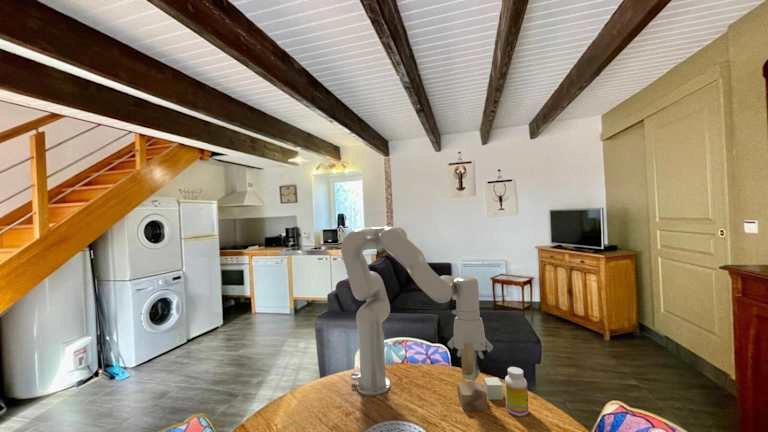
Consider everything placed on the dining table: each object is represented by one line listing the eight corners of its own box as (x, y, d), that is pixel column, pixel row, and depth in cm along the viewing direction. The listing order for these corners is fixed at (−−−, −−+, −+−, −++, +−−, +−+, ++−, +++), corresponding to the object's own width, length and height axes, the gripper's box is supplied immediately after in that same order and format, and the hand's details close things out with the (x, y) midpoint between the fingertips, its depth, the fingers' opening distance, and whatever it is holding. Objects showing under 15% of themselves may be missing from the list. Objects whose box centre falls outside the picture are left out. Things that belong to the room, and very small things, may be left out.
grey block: (488, 399, 105) (487, 385, 105) (484, 391, 110) (483, 377, 110) (503, 399, 105) (502, 384, 105) (498, 391, 110) (497, 377, 110)
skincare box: (468, 370, 108) (466, 335, 108) (480, 373, 106) (478, 337, 106) (461, 378, 103) (459, 341, 103) (474, 382, 100) (472, 344, 101)
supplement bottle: (531, 417, 95) (529, 376, 95) (508, 416, 96) (506, 374, 96) (525, 404, 101) (523, 365, 102) (504, 403, 103) (502, 364, 103)
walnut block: (462, 410, 100) (462, 395, 100) (457, 396, 108) (457, 381, 108) (487, 410, 100) (486, 394, 100) (480, 395, 108) (480, 381, 108)
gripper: (441, 316, 104) (444, 370, 103) (495, 319, 98) (498, 376, 98) (444, 309, 111) (446, 360, 111) (494, 312, 105) (497, 365, 105)
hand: (470, 367), depth 104 cm, fingers closed on skincare box, 5 cm apart
